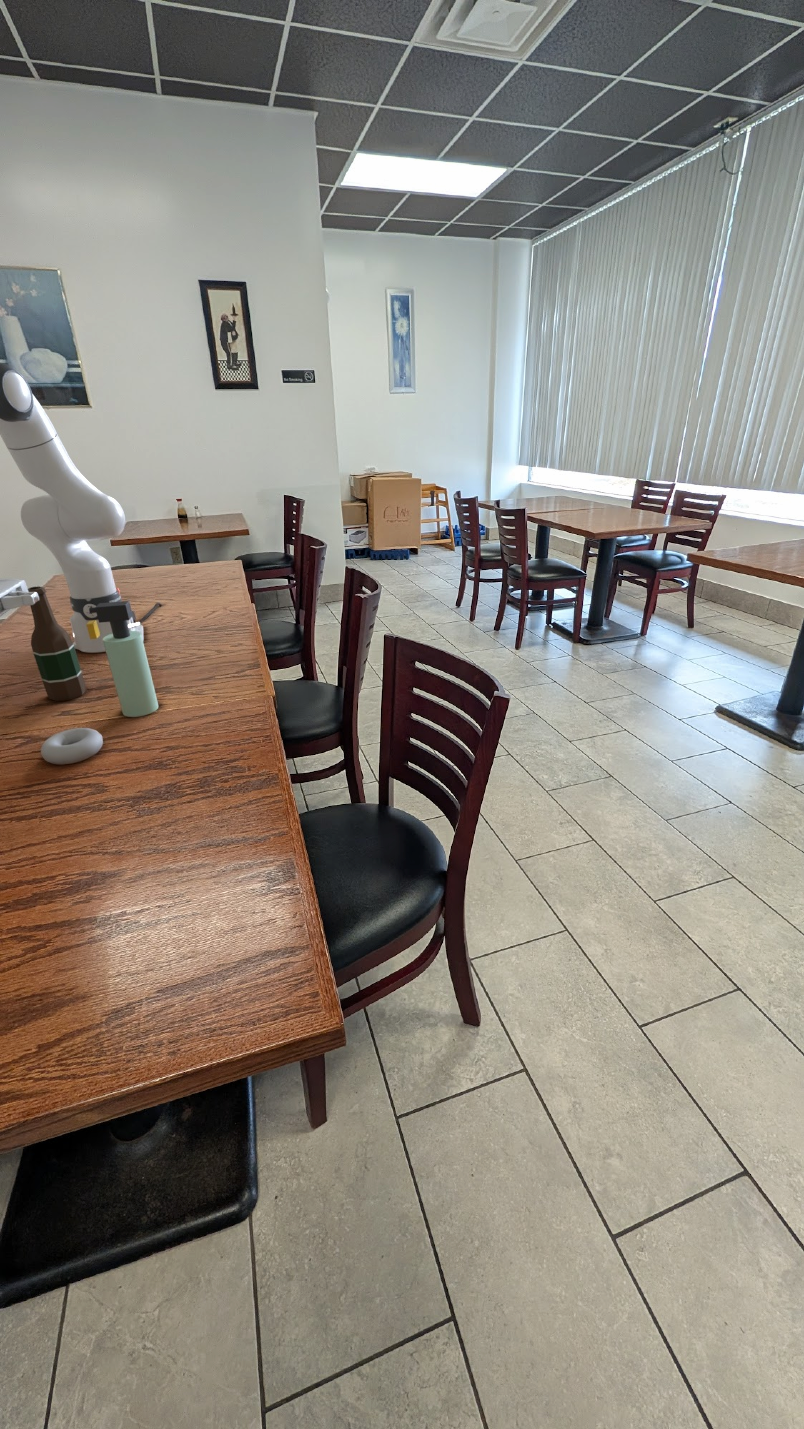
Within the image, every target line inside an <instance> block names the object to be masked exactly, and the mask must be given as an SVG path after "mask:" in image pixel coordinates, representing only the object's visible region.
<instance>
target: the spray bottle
mask: <svg viewBox="0 0 804 1429" xmlns="http://www.w3.org/2000/svg"><path fill="white" fill-rule="evenodd" d="M89 611H90V613H97V617H98V620H99V623H102V622H110V625H111V629H112V633H113V634H110V635H107V636H105V637H104V638H103V643H104V646H105V650H106V652H105V653H106V657H107V661H108V664H109V668H110V672H111V676H112V679H113V682H114V688H115V691H116V695H117V698H118V701H119V706H120V708H121V713H122V715H123V716H125V717H127V718H137V717H138V718H140V717H143V716H147V715H150V714H152V713H154V712H156V711H157V710H158V709H159V702H158V698H157V694H156V690H155V685H154V682H153V678H152V672H151V668H150V666H149V664H150V663H149V661H148V656H147V653H146V648H145V645H144V644H145V643H144V641H143V639H142V635H141V633H140V632H138V631H129V628H128V624H127V620H130V619H131V617H132V616H133V614H132V611H133V610H132V607H131V602H130V600H122V601H121V602H108V603H99V604H98V605H97V606H96V607H94V608H89Z"/></svg>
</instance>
